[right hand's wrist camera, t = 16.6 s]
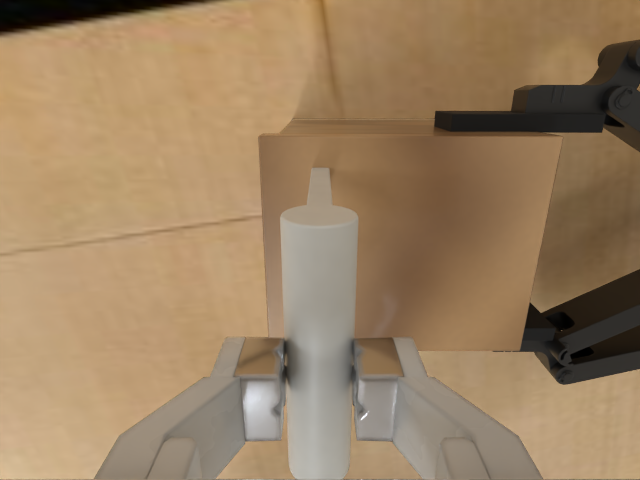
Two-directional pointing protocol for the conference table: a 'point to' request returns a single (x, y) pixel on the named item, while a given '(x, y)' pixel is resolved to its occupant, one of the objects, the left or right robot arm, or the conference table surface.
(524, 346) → the left robot arm
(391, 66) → the conference table surface
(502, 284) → the lid
